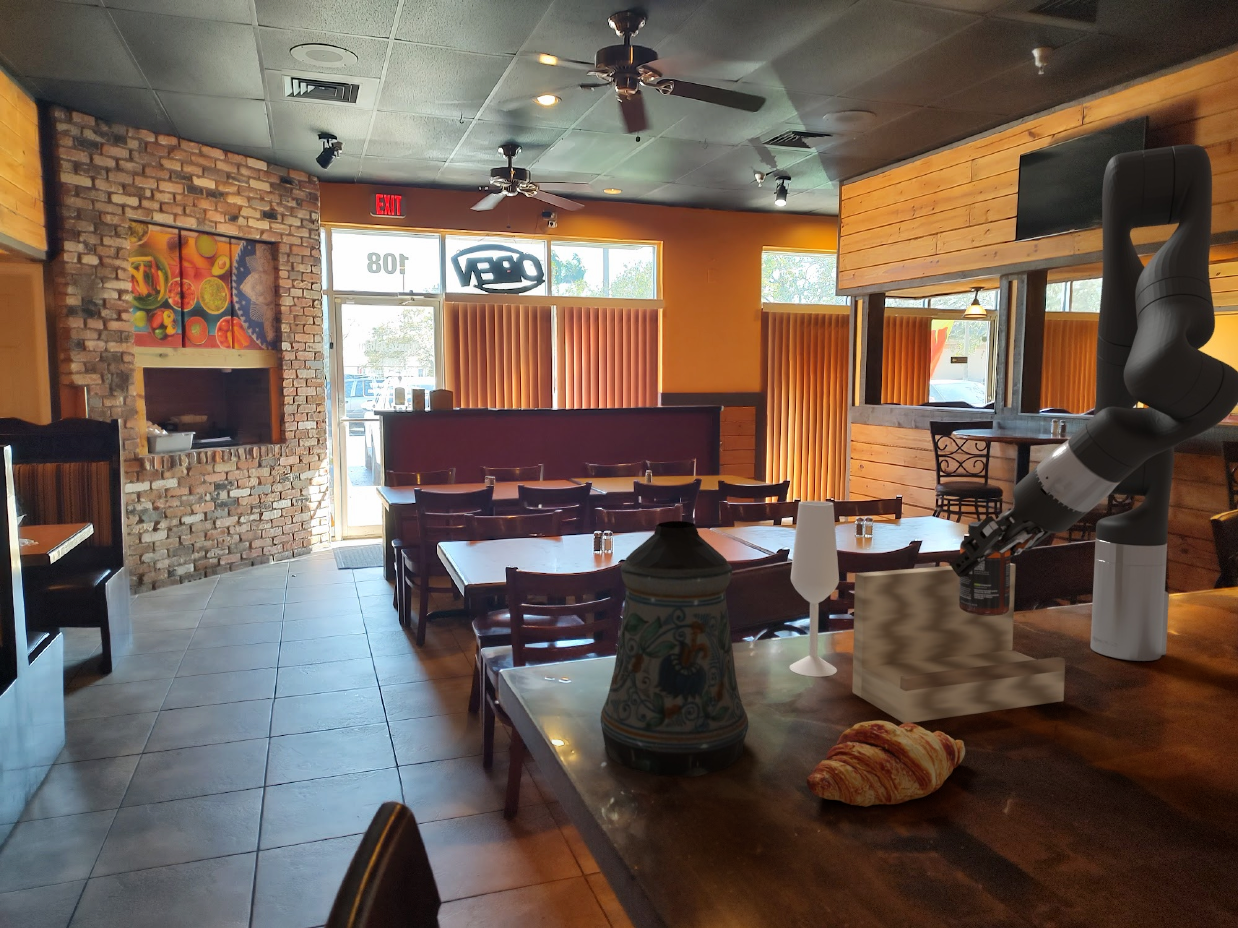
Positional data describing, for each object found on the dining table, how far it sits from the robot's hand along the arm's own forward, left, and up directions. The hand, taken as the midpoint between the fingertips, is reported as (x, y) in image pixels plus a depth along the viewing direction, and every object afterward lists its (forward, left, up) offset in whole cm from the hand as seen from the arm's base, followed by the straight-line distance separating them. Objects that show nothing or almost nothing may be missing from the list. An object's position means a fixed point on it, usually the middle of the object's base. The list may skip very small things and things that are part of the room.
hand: (972, 567), depth 108 cm
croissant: (+25, +18, -17) cm, 35 cm away
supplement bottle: (-1, +2, -5) cm, 6 cm away
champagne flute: (+14, -16, -17) cm, 27 cm away
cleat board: (+2, 0, -17) cm, 17 cm away
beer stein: (+42, +1, -17) cm, 46 cm away
